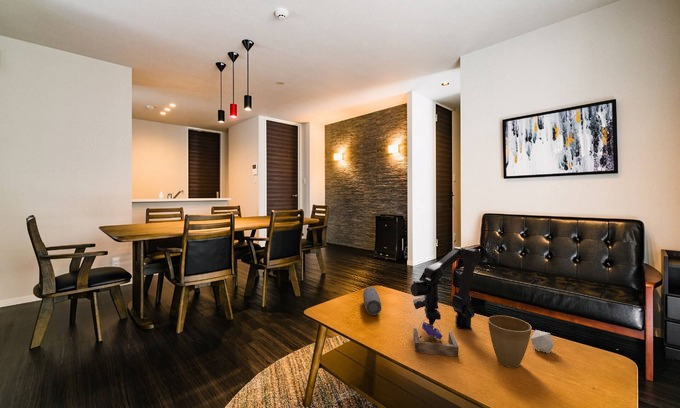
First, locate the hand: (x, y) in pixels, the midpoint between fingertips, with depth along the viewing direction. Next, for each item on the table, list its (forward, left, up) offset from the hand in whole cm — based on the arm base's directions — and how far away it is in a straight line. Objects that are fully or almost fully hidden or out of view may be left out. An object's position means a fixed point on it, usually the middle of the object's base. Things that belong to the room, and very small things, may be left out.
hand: (430, 326), depth 140 cm
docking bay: (0, +12, -3) cm, 13 cm away
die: (-45, +7, -3) cm, 46 cm away
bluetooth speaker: (+30, -22, -3) cm, 38 cm away
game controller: (+1, +8, -3) cm, 9 cm away
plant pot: (-27, +20, -3) cm, 34 cm away
